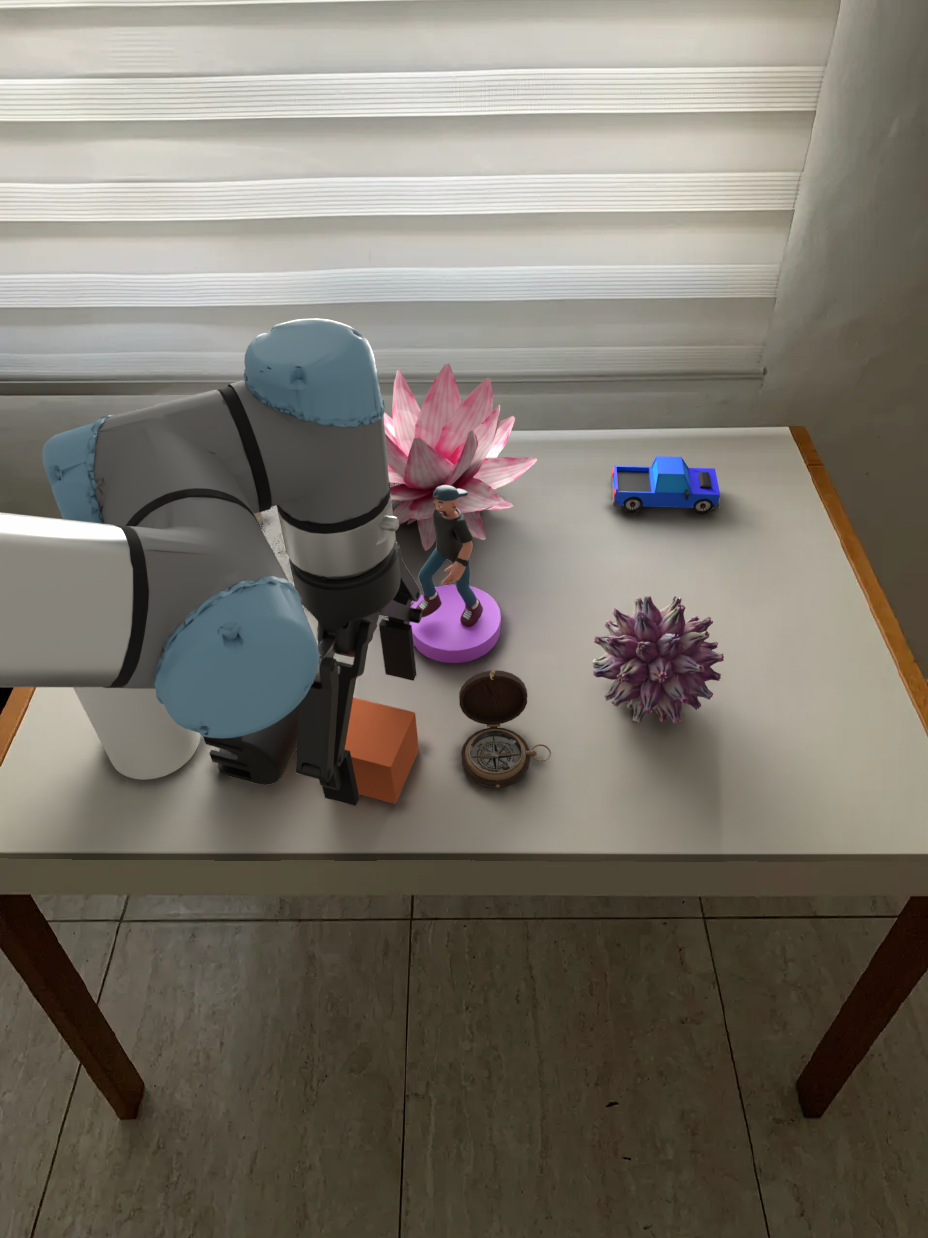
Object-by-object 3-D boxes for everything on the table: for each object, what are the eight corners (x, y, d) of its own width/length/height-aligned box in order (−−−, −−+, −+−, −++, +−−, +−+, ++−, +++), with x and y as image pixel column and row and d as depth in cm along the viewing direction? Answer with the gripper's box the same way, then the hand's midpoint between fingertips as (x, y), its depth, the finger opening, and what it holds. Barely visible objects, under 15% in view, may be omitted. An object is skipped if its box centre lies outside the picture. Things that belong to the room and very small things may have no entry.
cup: (213, 713, 86) (171, 591, 75) (179, 785, 80) (128, 666, 69) (132, 702, 87) (78, 581, 76) (93, 773, 82) (28, 653, 70)
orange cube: (395, 804, 79) (390, 767, 75) (331, 787, 80) (323, 750, 76) (419, 750, 83) (415, 712, 79) (357, 734, 84) (351, 696, 80)
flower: (689, 767, 83) (564, 725, 83) (702, 667, 90) (588, 629, 91) (741, 697, 74) (600, 651, 74) (750, 592, 81) (623, 551, 82)
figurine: (391, 624, 94) (375, 484, 81) (461, 584, 98) (457, 444, 85) (447, 677, 89) (440, 537, 76) (519, 632, 93) (524, 491, 80)
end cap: (286, 797, 79) (273, 751, 75) (214, 777, 81) (196, 731, 76) (331, 710, 86) (322, 663, 81) (264, 694, 88) (250, 646, 83)
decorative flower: (403, 440, 117) (394, 331, 106) (558, 483, 110) (565, 371, 99) (311, 539, 103) (290, 426, 93) (480, 595, 96) (479, 481, 86)
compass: (462, 792, 79) (461, 741, 74) (459, 720, 85) (458, 668, 80) (554, 788, 79) (559, 737, 74) (545, 716, 85) (549, 664, 80)
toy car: (717, 519, 104) (725, 484, 101) (612, 516, 105) (616, 481, 102) (711, 484, 109) (718, 449, 105) (610, 481, 110) (614, 447, 106)
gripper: (318, 693, 53) (358, 872, 69) (450, 450, 70) (459, 638, 85) (205, 666, 55) (269, 846, 70) (360, 436, 71) (385, 622, 87)
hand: (373, 733), depth 78 cm, fingers open, 13 cm apart
